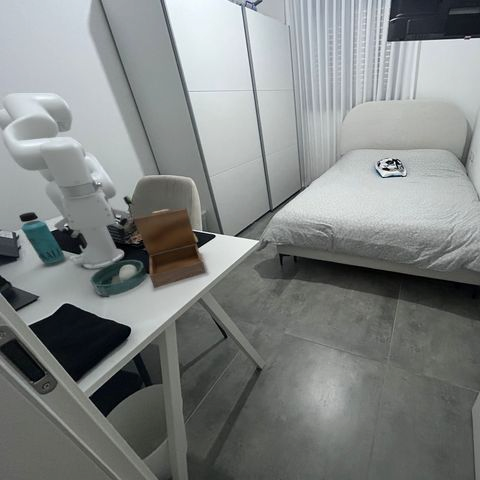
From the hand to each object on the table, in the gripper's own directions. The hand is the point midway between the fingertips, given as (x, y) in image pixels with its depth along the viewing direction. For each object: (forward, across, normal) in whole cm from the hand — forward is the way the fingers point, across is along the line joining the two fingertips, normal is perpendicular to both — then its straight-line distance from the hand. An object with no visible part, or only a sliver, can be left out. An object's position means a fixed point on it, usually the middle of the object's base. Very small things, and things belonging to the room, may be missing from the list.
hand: (105, 242), depth 80 cm
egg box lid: (+2, -17, -2) cm, 17 cm away
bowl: (+15, 0, +1) cm, 15 cm away
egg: (+13, 0, +1) cm, 13 cm away
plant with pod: (+16, -3, -32) cm, 36 cm away
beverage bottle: (+16, +23, -28) cm, 40 cm away
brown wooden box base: (+15, -17, +3) cm, 23 cm away
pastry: (+16, -22, -16) cm, 31 cm away
